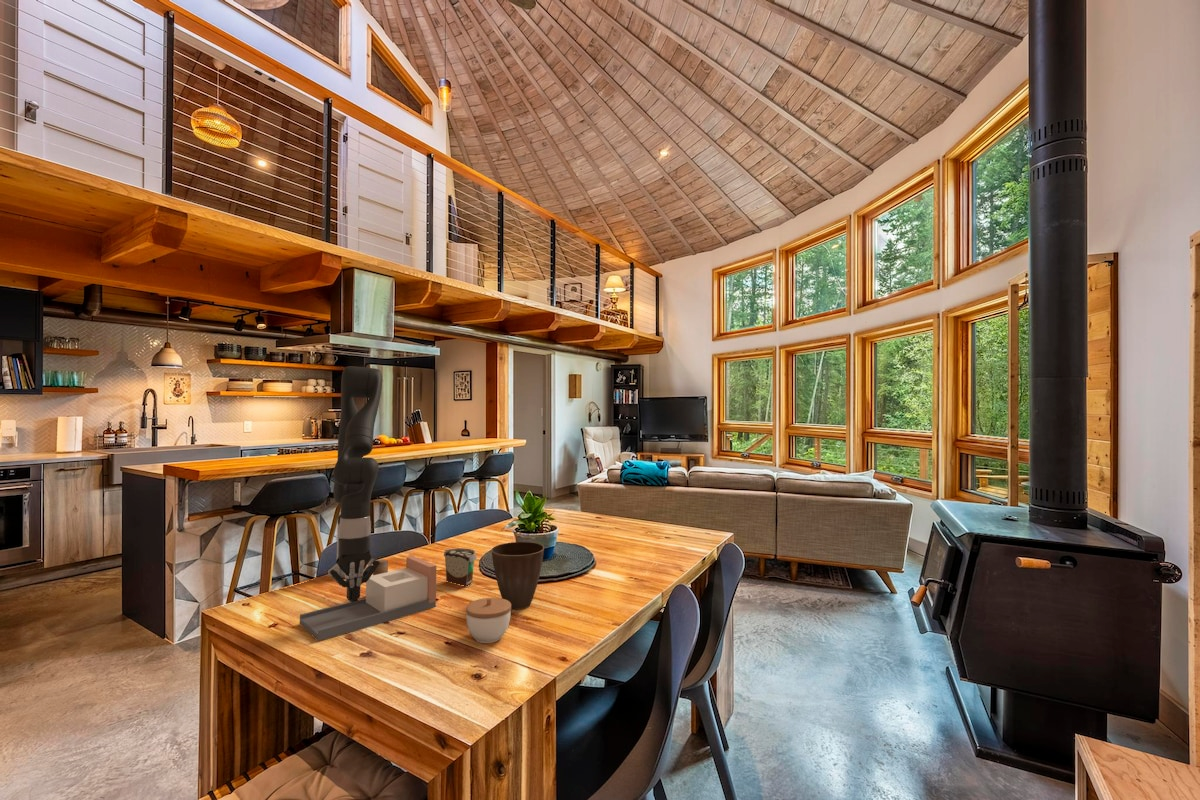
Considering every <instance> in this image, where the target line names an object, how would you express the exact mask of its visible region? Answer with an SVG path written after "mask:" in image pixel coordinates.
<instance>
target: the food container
mask: <svg viewBox="0 0 1200 800" xmlns="http://www.w3.org/2000/svg"><path fill="white" fill-rule="evenodd" d="M475 551H476V550H474V549H471V548H463V547H461V548H450V549H449V548H448V549H445V550H444V553H443V557H444V560H445V563H444V565H445V582H446V581H448V582H452V583H456V584H460V585H464V586H468V585H470V584H471V583H472V584H473V577H474V576H473V575H474V568H475V567H474V566H475V561H477V554H476V552H475ZM448 582H447V583H448ZM452 583H451V584H452ZM456 584H455V585H456ZM472 584H471V585H472ZM471 585H470V586H471Z"/></svg>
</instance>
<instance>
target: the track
mask: <svg viewBox="0 0 1200 800" xmlns="http://www.w3.org/2000/svg"><path fill="white" fill-rule="evenodd" d="M405 568H410V569H412V570H414V571H416V572H418V573H421V574H423V575H425V576H427V577H428V595H427V600H423V601H419V602H416V603H412V604H409V605H405V606H402V607H398V608H394V609H391V610H387V611H384V612H380V611H378V610H377V609H375V608H374V607H372V606H371V605H369V604H367V603H366V597H364V598H361V599H360V598H358V601H355V602H350V601H348V602H344V603H340V604H336V605H333V606H329V607H324V608H321V609H316V610H312V611H309V612H308V611H307V612H304V613H300V614H299V625H300V624H301V625H302V626H303V627H304V628H305V629H306V630H307V631H308V632H307V631H306V630H305V629H304V628H303V627H302V626H301V625H300V626H301V627H302V628H303V629H304V630H305V631H306V632H307V633H308V634H310V633H311V634H312V635H313V636H314V637H315V638H316V639H317V640H318V642H322V641H325V640H324V639H326V640H328V638H329V639H332V638H335V636H336V637H338V635H339V636H342V635H341V634H343V635H346V634H348V633H351V632H356V631H359V630H362V629H363V630H364V629H367V628H369V627H373V626H375V625H380V624H383V623H386V622H389V621H392V620H396V619H399V618H402V617H406V616H409V615H412V614H416V613H421V612H422V611H426V610H431V609H433V607H434V608H436V606H437V605H436V603H437V602H436V599H437V565H436V564H434V563H431V562H430V561H429V562H428V561H426V560H424V559H421V558H419V557H416V556H415V555H409V556H406V559H405ZM345 633H346V634H345ZM311 634H310V635H311ZM312 635H311V636H312ZM313 636H312V637H313ZM314 637H313V638H314ZM315 638H314V639H315ZM316 639H315V640H316ZM317 640H316V641H317ZM321 640H322V641H321Z"/></svg>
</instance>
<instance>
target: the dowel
mask: <svg viewBox="0 0 1200 800" xmlns="http://www.w3.org/2000/svg"><path fill="white" fill-rule="evenodd" d="M376 560H377V559H376ZM377 561H379V562H380V563H379V565H378V567H377V568H376V570H375V571H374V572H373V574H372V576H373V575H377V574H382V573H386V572H389V570H388V569H389V561H388V559H378V560H377Z"/></svg>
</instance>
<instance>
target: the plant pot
mask: <svg viewBox="0 0 1200 800" xmlns="http://www.w3.org/2000/svg"><path fill="white" fill-rule="evenodd" d="M544 552H545V546H544V545H542V544H540V543H537V542H530V541H514V542H513V541H512V542H506V543H501V544H497V545H495V546H493V547H492V548H491V556H492V557H491V559H492V564H493V570H494V574H495V579H496V583H497V588H498V590H499V591H498V592H499V594H500V596H501V598H502V599H505V600H508V601H509V602H510V603H511V610H522V608H523V609H526V608H528V607H530V606H531V605H532V602H533V600H534V599H533V598H534V596H535V593H536V591H537V588H538V583H539V580H540V576H541V571H542V565H543V558H544Z"/></svg>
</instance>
